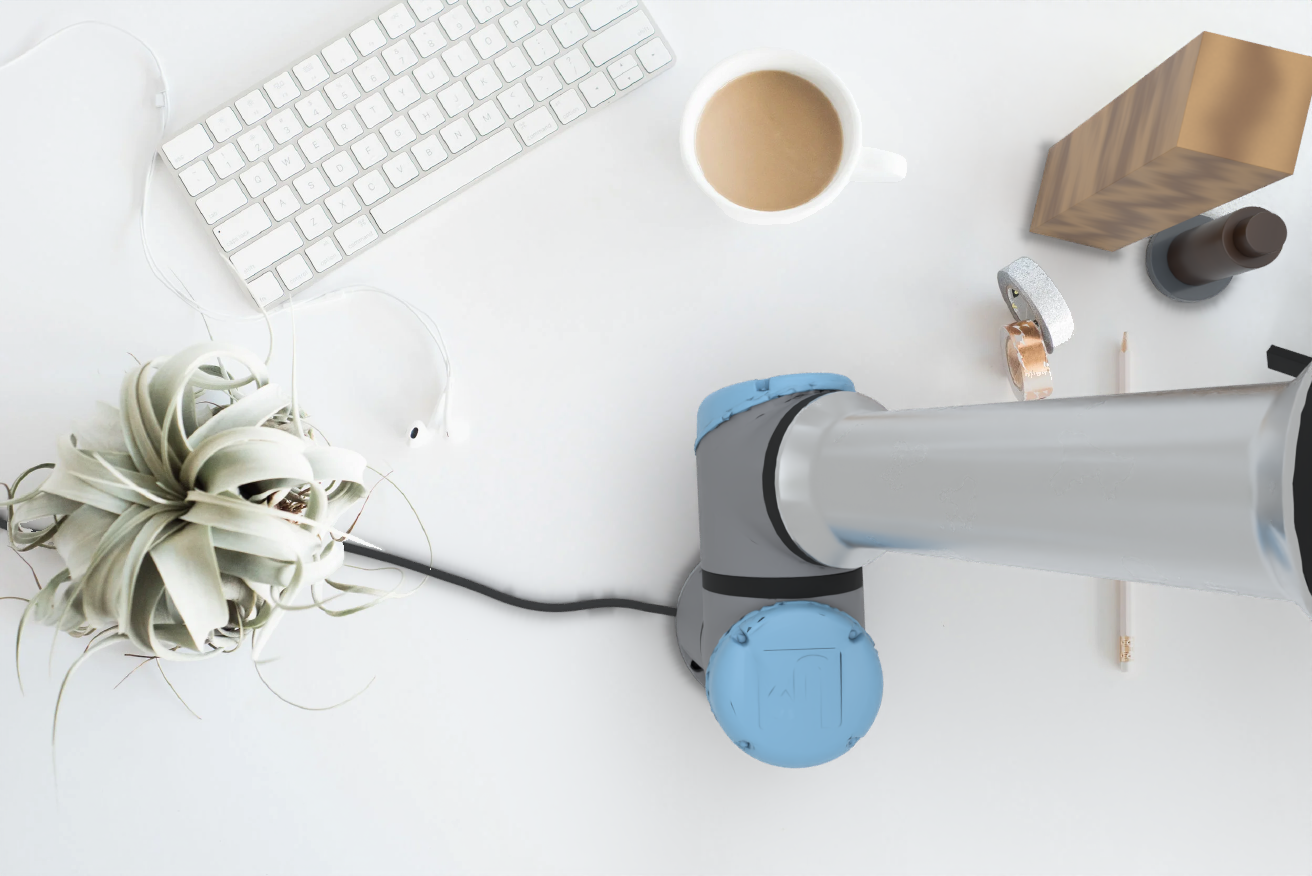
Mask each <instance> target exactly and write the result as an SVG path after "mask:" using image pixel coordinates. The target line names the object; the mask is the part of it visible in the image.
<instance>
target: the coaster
mask: <svg viewBox="0 0 1312 876" xmlns="http://www.w3.org/2000/svg"><path fill="white" fill-rule="evenodd" d="M1214 219H1215V218H1212V217H1210V216H1206V215H1203V214H1200V215H1198V216H1195V217H1193V218H1191V219H1188V220H1186V221H1184V222H1181V223H1179V224H1177V225H1174V226H1172V227H1170V228H1167V229H1165V230H1163V231H1160V232H1158V233H1156V234H1153V235H1152V236H1151V238H1150V240H1149V242H1148V245H1147V248H1146V253H1145V254H1146V255H1145V267H1146V271H1147V274H1148V276H1149V279H1150V280H1151V282H1152V284H1153V285H1154V287H1155V288H1156V289H1157V290H1158V291H1159V292H1161V293H1162V294H1163V295H1164V296H1165V297H1168V298H1169V299H1171V300H1174V301H1177V302H1180V303H1181V302H1182V303H1198V302H1202V301H1205V300H1208V299H1211V298H1214V297H1215V296H1218V295H1219V294H1220V293H1221V292H1223V291H1224V290H1225V289H1226V288H1227V286H1228V285H1229V284H1230V283H1231V281H1232V280H1233V278H1234V276H1231V277H1228V278H1224V279H1221V280H1218V281H1214V282H1211V283H1208V284H1204V285H1199V286H1192V285H1188V284H1185V283H1183V282H1181V281H1179V280H1178V279H1177V278H1176V277H1175V276H1174V275H1173V274H1172V272H1171V270H1170V268H1169V266H1168V261H1167V254H1168V249H1169V247H1170V244H1171V243H1172V241H1173V240H1174V239H1175V238H1176V237H1177V236H1178V235H1179V234H1181V233H1183V232H1185V231H1187V230H1189V229H1192V228H1194V227H1197V226H1199V225H1202V224H1204V223H1207V222H1209V221H1211V220H1214Z"/></svg>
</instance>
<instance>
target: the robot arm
mask: <svg viewBox="0 0 1312 876" xmlns="http://www.w3.org/2000/svg"><path fill="white" fill-rule="evenodd" d="M1266 362H1267V363H1266V366H1267V369H1269V370H1272V371H1275V372H1278V373H1281V374H1283V375H1287V376H1290V377H1293V378H1294V379H1292V380H1287V381H1273V382H1261V383H1247V384H1235V385H1234V384H1233V385H1221V386H1220V385H1219V386H1207V387H1206V386H1205V387H1194V388H1179V389H1167V390H1166V389H1165V390H1152V391H1151V390H1150V391H1138V392H1125V393H1111V394H1099V395H1098V394H1097V395H1086V396H1085V395H1084V396H1071V397H1069V396H1068V397H1058V398H1045V399H1044V398H1043V399H1031V400H1030V399H1029V400H1018V401H1003V402H989V403H988V402H987V403H977V404H975V403H974V404H964V405H963V404H962V405H961V404H960V405H949V406H948V405H947V406H935V407H922V408H909V409H894V410H888V408H886V407H885V406H884V405H883V404H882V403H881V402H879V401H877V400H876V399H875V398H873V397H871V396H869V395H866V394H863V393H860V392H857V391H856V387H855V384H854V382H853V381H852V380H851V378H849V377H848V376H846V375H843V374H839V373H834V372H801V373H800V372H799V373H788V374H780V375H775V376H771V377H768V378H762V379H761V378H760V379H757V378H756V379H750V380H745V381H741V382H738V383H734V384H730V385H727V386H725V387H722V388H720V389H717V390H715V391H713V392H711V393H710V394H708V395H707V396H705V398H704V399H703V400H702V401H701V403H700V404H699V406H698V409H697V411H696V413H697V414H696V438H695V441H694V445H693V450H694V456H695V464H696V465H695V467H696V485H697V505H698V506H697V507H698V508H697V509H698V527H699V529H698V531H699V551H700V552H699V553H700V561H699V562H698V563H697V564H696V565H695V567H694V568H693V569H692V570H691V572H690V573H689V574H688V576H687V578H686V580H685V581H684V583H683V585H682V588H681V590H680V592H679V596H678V598H677V603H676V607H674V606H673V607H672V606H669V605H668V606H667V605H660V604H654V603H648V602H644V601H639V600H635V599H629V598H626V599H625V598H598V599H590V600H582V601H573V602H565V603H564V602H562V603H561V602H560V603H559V602H558V603H550V602H549V603H547V602H538V601H533V600H529V599H528V600H527V599H523V598H519V597H516V596H512V595H509V594H507V593H504V592H502V591H499V590H496V589H494V588H492V587H489V586H486V585H484V584H481V583H478V582H476V581H473V580H470V579H468V578H464V577H462V576H459V575H455V574H452V573H450V572H447V571H445V570H441V569H437V568H434V567H431V566H429V565H426V564H423V563H420V562H416V561H413V560H410V559H407V558H404V557H401V556H397V555H395V554H391V553H387V552H384V551H380V550H376V549H373V548H369V547H364V546H362V545H358V544H353V543H349V542H345V541H342V542H343V545H344V551H343V552H347V553H350V554H354V555H357V556H362V557H366V558H370V559H373V560H377V561H381V562H385V563H388V564H392V565H395V566H398V567H402V568H405V569H408V570H411V571H413V572H417V573H419V574H423V575H426V576H429V577H432V578H435V579H437V580H439V581H443V582H447V583H449V584H453V585H456V586H459V587H462V588H464V589H467V590H471V591H473V592H476V593H479V594H481V595H483V596H486V597H488V598H490V599H494V600H496V601H498V602H500V603H504V604H506V605H509V606H514V607H517V608H521V609H525V610H529V611H535V612H544V613H566V612H567V613H568V612H569V613H570V612H576V611H585V610H592V609H593V610H594V609H603V608H623V609H631V610H636V611H642V612H647V613H652V614H657V615H663V616H670V617H674V618H675V633H676V634H675V635H676V640H677V644H678V647H679V652H680V655H681V657H682V659H683V661H684V663H685V665H686V667H687V670H688V671H689V672H690V673H691V675H692V676H693V677H694V679H696V681H697V683H699V684H700V685H701V686H702V687H703V688H704V689H705V696H706V700H707V702H708V703H709V707H710V712H711V713H712V714H713V716H714V718H715V720H716V721H717V723H718V724H719V726H720V728H721V729H722V731H723V732H724V733H725V735H726V736H727V737H728V738H729V740H730V741H731V742H732V743H733V744H734V745H735V746H736V747H738V749H739V750H741V751H742V752H743V753H745V754H746V755H748V756H750V757H751V758H753V759H755V760H757V761H758V762H761V763H764V764H767V765H769V766H774V767H778V768H784V769H785V768H786V769H807V768H812V767H817V766H821V765H824V764H827V763H830V762H832V761H834V760H836V759H838V758H840V757H842V756H843V755H845V754H846V753H848V752H849V751H851V749H852V748H853V747H855V745H856V744H857V743H858V742H859V740H861V739H862V738H864V737H865V736H866V735H867V734H868V733H869V731H870V730H871V727H872V726H873V724H874V722H875V720H876V718H877V716H878V714H879V711H880V708H881V705H882V700H883V695H884V694H883V693H884V674H883V672H884V671H883V668H882V663H881V659H880V657H879V651H878V650H877V648H875V645H876V643H875V641H874V640H873V638H872V636H871V635H870V634H869V633H868V632H867V631H866V615H865V590H864V571H863V569H864V568H863V567H865V566H867V565H869V564H871V563H874V561H876V560H878V559H879V558H881V557H882V556H883V555H885V553H886V552H891V553H899V554H900V553H901V554H908V555H917V556H923V557H930V558H931V557H933V558H940V559H947V560H954V561H955V560H956V561H963V562H970V563H980V564H987V565H996V566H1002V567H1003V566H1004V567H1009V568H1011V567H1012V568H1019V569H1025V570H1033V571H1034V570H1035V571H1042V572H1050V573H1051V572H1052V573H1059V574H1067V575H1074V576H1082V577H1090V578H1099V579H1107V580H1115V581H1122V582H1129V583H1130V582H1131V583H1136V584H1137V583H1138V584H1146V585H1154V586H1155V585H1156V586H1162V587H1171V588H1178V589H1186V590H1195V591H1203V592H1211V593H1218V594H1227V595H1233V596H1241V597H1248V598H1249V597H1250V598H1257V599H1267V600H1273V601H1281V602H1289V603H1293V604H1295V605H1296V606H1298V607H1299V608H1300V609H1301V610H1302V612H1303V613H1304V614H1305V615H1306V616H1307V618H1308V619H1309V620H1310V622H1312V356H1309V355H1307V354H1303V353H1301V352H1297V351H1294V350H1291V349H1288V348H1284V347H1281V346H1277V345H1275V344H1271V345H1270V346H1269V347H1268V349H1267V350H1266ZM7 521H8V520H6V519H4V518H2V517H0V529H2V530H4V531H7ZM29 528H30V527H29ZM30 529H32V530H33V531H31V532H36V531H40V529H36V528H35V529H34V528H30ZM430 568H431V570H430Z"/></svg>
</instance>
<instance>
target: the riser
mask: <svg viewBox="0 0 1312 876" xmlns="http://www.w3.org/2000/svg"><path fill="white" fill-rule="evenodd" d="M1311 102H1312V56H1311V55H1306V54H1303V53H1298V52H1294V51H1290V50H1287V49H1281V48H1278V47H1274V46H1270V45H1264V44H1261V43H1258V42H1254V41H1253V42H1252V41H1248V40H1244V39H1241V38H1236V37H1231V36H1227V35H1224V34H1220V33H1216V32H1211V31H1206V30H1203V31H1202V32H1200V33H1199V34H1198V35H1197V36H1196V37H1194V38H1192V39H1191V40H1190V41H1189V42H1187V43H1186V44H1185V45H1183V46H1182V47H1181V48H1180V49H1178V50H1176V52H1174V53H1172V55H1170V56H1169V57H1168V58H1166V59H1165V60H1163V61H1162V62H1161V63H1160V64H1159V65H1157V66H1156V67H1155V68H1153V69H1151V71H1149V72H1148V73H1146V74H1145V75H1144V76H1143V77H1142V78H1140V79H1139V80H1138V81H1136V82H1135V83H1134V84H1132V85H1131V86H1130V87H1128V88H1127V89H1126V90H1124V91H1123V92H1122V93H1121V94H1119V95H1118V96H1117V97H1115V98H1113V99H1112V100H1111V101H1110V102H1109V103H1107V104H1106V105H1104V106H1103V107H1102V108H1100V109H1099V110H1098V111H1097V112H1095V113H1094V114H1093V115H1092V116H1090V117H1089V118H1087V120H1085V121H1084V122H1082V123H1081V124H1080V125H1078V126H1077V127H1075V128H1074V129H1073V130H1072V131H1071V132H1069V133H1067V135H1065V136H1064V137H1062V138H1061V139H1060V140H1059V141H1057V142H1056V143H1055V144H1053V145H1052V146H1051V147H1050V148H1048V152H1047V156H1046V161H1045V165H1044V168H1043V173H1042V177H1041V182H1040V185H1039V188H1038V189H1039V190H1038V194H1037V198H1036V203H1035V207H1034V211H1033V214H1032V218H1031V223H1030V227H1029V232H1030V233H1033V234H1037V235H1040V236H1041V235H1042V236H1045V237H1050V238H1053V239H1057V240H1061V241H1067V242H1070V243H1074V244H1078V245H1083V246H1086V247H1091V248H1095V249H1099V250H1104V251H1107V252H1111V253H1114V252H1116V251H1118V250H1121V249H1123V248H1125V247H1128V246H1130V245H1132V244H1134V243H1137V242H1139V241H1143V240H1144V239H1146V238H1148V237H1152V236H1153V235H1154V234H1156V233H1158V232H1160V231H1163V230H1165V229H1167V228H1170V227H1172V226H1174V225H1177V224H1179V223H1181V222H1184V221H1186V220H1188V219H1191V218H1193V217H1195V216H1198V215H1203V214H1204V213H1207V212H1209V211H1211V210H1214V209H1216V208H1219V207H1221V206H1224V205H1225V204H1228V203H1230V202H1233V201H1235V200H1237V199H1239V198H1242V197H1244V196H1246V195H1249V194H1251V193H1254V192H1256V191H1259V190H1261V189H1263V188H1265V187H1267V186H1270V185H1272V184H1275V183H1277V182H1279V181H1281V180H1284V179H1286V178H1289V177H1291V176H1293V175H1294V173H1295V169H1296V164H1297V160H1298V157H1299V151H1300V149H1301V148H1300V147H1301V143H1302V140H1303V136H1304V131H1305V126H1306V122H1307V118H1308V114H1309V111H1310V106H1311Z"/></svg>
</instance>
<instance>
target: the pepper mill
mask: <svg viewBox="0 0 1312 876" xmlns="http://www.w3.org/2000/svg"><path fill="white" fill-rule="evenodd" d="M1213 219H1214V220H1211V221H1209V222H1207V223H1204V224H1202V225H1199V226H1197V227H1194V228H1192V229H1189V230H1187V231H1185V232H1183V233H1181V234H1179V235H1178V236H1177V237H1176V238H1175V239H1174V240H1173V241H1172V243H1171V244H1170V247H1169V249H1168V254H1167V261H1168V266H1169V268H1170V270H1171V272H1172V274H1173V275H1174V276H1175V277H1176V278H1177V279H1178V280H1179V281H1181V282H1183V283H1185V284H1188V285H1192V286H1199V285H1204V284H1208V283H1211V282H1214V281H1218V280H1221V279H1224V278H1228V277H1231V276H1233V277H1236V276H1238V275H1241V274H1245V273H1247V272H1251V271H1254V270H1257V269H1261V268H1264V267H1267V266H1268V265H1270V264H1271V263H1273V262H1274V261H1275V260H1276V259H1278V257H1279V255H1280V254H1281V252H1282V250H1283V247H1284V245H1285V243H1286V241H1287V237H1288V228H1287V224H1286V222H1285V221H1284V220H1283V218H1282V217H1280V216H1279V215H1278V214H1276V213H1274V212H1272V211H1270V210H1269V209H1266V208H1265V207H1261V206H1256V205H1255V206H1253V205H1252V206H1245V207H1242V208H1239V209H1236V210H1233V211H1230V212H1228V213H1227V214H1223V215H1222V216H1219V217H1217V218H1213Z"/></svg>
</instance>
